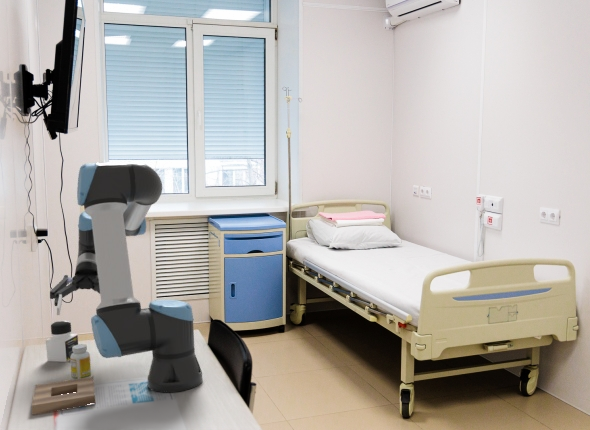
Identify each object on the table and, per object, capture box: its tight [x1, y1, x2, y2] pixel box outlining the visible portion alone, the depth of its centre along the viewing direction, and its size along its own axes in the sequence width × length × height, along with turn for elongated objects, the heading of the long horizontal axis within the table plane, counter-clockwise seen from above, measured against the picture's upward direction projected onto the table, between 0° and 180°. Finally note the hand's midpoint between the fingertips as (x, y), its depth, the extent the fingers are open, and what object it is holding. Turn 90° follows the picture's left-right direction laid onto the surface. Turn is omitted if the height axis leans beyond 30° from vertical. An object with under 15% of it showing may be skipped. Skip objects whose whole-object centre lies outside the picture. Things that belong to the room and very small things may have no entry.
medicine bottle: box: [45, 320, 79, 363], centre depth 192 cm, size 7×7×12 cm
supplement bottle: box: [69, 343, 92, 380], centre depth 174 cm, size 5×5×10 cm
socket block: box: [31, 375, 96, 416], centre depth 158 cm, size 15×15×2 cm
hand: (82, 311), depth 181 cm, fingers open, 13 cm apart
